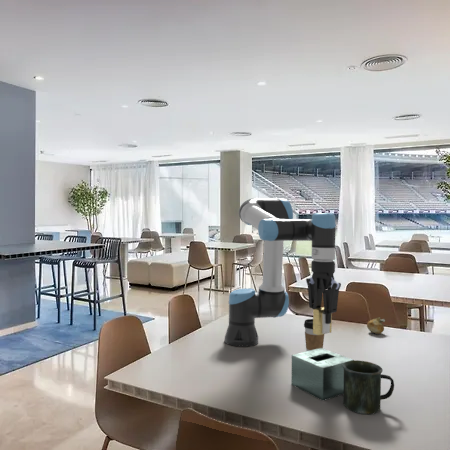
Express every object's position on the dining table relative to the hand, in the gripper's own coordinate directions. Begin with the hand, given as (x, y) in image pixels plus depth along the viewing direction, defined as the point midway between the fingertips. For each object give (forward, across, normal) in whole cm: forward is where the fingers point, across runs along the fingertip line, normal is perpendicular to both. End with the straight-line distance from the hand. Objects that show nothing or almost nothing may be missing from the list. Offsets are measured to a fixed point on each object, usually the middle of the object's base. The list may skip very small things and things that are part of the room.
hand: (322, 331), depth 131 cm
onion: (+19, -31, +70) cm, 79 cm away
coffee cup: (+19, -22, +19) cm, 35 cm away
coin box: (+18, 0, 0) cm, 18 cm away
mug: (+19, +17, +1) cm, 25 cm away
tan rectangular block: (0, 0, 0) cm, 0 cm away
